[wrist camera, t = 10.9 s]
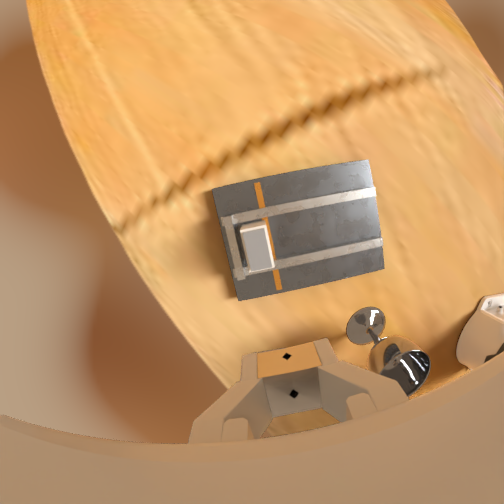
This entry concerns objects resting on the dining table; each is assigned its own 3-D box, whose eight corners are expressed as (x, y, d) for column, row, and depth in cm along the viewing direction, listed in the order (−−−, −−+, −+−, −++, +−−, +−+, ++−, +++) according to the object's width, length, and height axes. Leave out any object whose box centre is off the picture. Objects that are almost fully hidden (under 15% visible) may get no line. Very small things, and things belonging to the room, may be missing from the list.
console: (363, 160, 37) (376, 157, 33) (379, 265, 41) (393, 274, 36) (214, 189, 39) (207, 188, 34) (239, 296, 42) (237, 309, 37)
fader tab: (264, 219, 37) (266, 225, 31) (272, 255, 38) (275, 269, 32) (242, 224, 38) (239, 231, 31) (250, 260, 39) (249, 274, 32)
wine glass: (335, 339, 43) (363, 397, 29) (359, 297, 42) (400, 343, 27) (372, 351, 44) (407, 405, 29) (395, 312, 42) (441, 357, 28)
